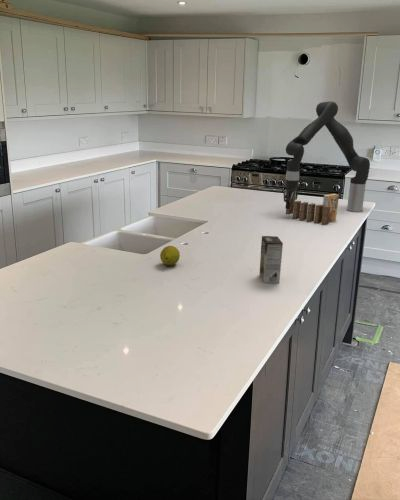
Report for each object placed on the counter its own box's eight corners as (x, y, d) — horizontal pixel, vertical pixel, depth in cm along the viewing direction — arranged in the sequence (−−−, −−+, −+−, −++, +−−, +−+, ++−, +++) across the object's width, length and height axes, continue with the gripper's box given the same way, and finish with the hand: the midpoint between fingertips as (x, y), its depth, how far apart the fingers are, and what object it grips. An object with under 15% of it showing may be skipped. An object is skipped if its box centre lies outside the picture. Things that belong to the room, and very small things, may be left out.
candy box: (330, 219, 295) (333, 193, 291) (336, 221, 292) (339, 194, 287) (320, 221, 290) (323, 194, 285) (326, 223, 287) (329, 196, 282)
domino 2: (296, 217, 297) (298, 200, 294) (299, 218, 296) (301, 201, 293) (292, 219, 294) (293, 201, 291) (295, 219, 292) (297, 202, 289)
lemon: (166, 260, 217) (166, 241, 214) (183, 262, 214) (183, 244, 212) (155, 267, 207) (155, 248, 205) (172, 270, 204) (172, 251, 202)
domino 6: (325, 223, 287) (327, 205, 284) (328, 223, 286) (330, 206, 283) (321, 224, 283) (323, 207, 280) (324, 225, 282) (326, 207, 279)
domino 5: (317, 221, 289) (319, 204, 286) (321, 222, 288) (323, 204, 285) (314, 223, 286) (315, 205, 283) (317, 223, 285) (319, 206, 282)
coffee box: (258, 274, 202) (261, 235, 198) (274, 274, 203) (277, 235, 198) (263, 283, 194) (266, 242, 189) (279, 283, 194) (283, 242, 190)
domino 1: (289, 212, 299) (291, 195, 296) (292, 213, 298) (294, 196, 295) (285, 214, 296) (287, 197, 293) (288, 214, 294) (290, 197, 291)
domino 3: (303, 218, 295) (305, 201, 292) (306, 219, 294) (308, 202, 291) (299, 220, 291) (301, 203, 288) (302, 221, 290) (304, 203, 287)
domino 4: (310, 220, 292) (312, 203, 289) (313, 220, 291) (315, 203, 288) (306, 221, 288) (308, 204, 285) (309, 222, 287) (311, 205, 284)
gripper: (292, 176, 298) (289, 205, 303) (280, 179, 288) (277, 209, 293) (304, 178, 294) (301, 207, 299) (292, 181, 283) (289, 211, 288)
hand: (289, 208), depth 296 cm, fingers closed on domino 1, 5 cm apart
